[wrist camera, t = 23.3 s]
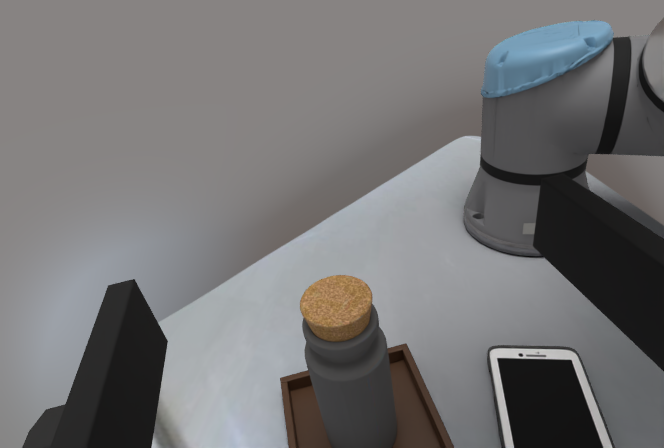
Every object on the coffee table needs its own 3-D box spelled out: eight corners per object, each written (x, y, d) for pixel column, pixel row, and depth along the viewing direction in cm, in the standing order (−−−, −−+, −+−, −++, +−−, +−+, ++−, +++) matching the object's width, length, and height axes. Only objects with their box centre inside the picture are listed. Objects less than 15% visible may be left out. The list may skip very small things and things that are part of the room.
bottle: (360, 386, 39) (335, 258, 31) (412, 425, 36) (400, 291, 27) (313, 433, 36) (272, 305, 28) (365, 481, 33) (335, 349, 24)
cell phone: (515, 527, 29) (516, 521, 28) (485, 351, 41) (485, 344, 40) (645, 541, 27) (649, 534, 27) (574, 352, 39) (576, 345, 39)
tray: (465, 485, 32) (465, 471, 31) (303, 535, 31) (298, 522, 30) (407, 356, 42) (406, 342, 41) (284, 390, 41) (279, 377, 40)
